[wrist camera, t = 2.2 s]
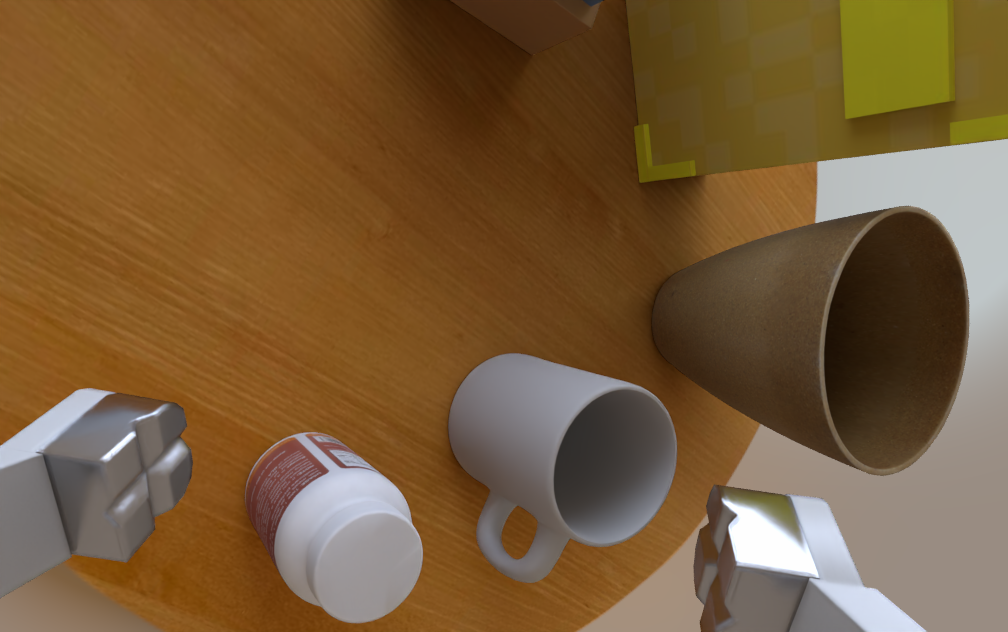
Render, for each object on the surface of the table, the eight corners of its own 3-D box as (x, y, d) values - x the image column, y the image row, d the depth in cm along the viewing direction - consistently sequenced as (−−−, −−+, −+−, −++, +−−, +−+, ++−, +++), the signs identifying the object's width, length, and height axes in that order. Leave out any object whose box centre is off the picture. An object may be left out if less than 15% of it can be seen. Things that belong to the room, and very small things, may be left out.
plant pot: (701, 447, 52) (910, 518, 39) (577, 349, 45) (780, 394, 32) (780, 289, 56) (1000, 303, 42) (676, 175, 49) (899, 147, 35)
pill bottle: (253, 556, 36) (305, 669, 26) (233, 447, 35) (280, 523, 25) (364, 519, 39) (448, 608, 29) (349, 417, 38) (430, 475, 28)
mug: (485, 329, 42) (595, 354, 32) (579, 385, 46) (701, 421, 36) (395, 508, 40) (485, 591, 30) (502, 550, 44) (610, 634, 34)
